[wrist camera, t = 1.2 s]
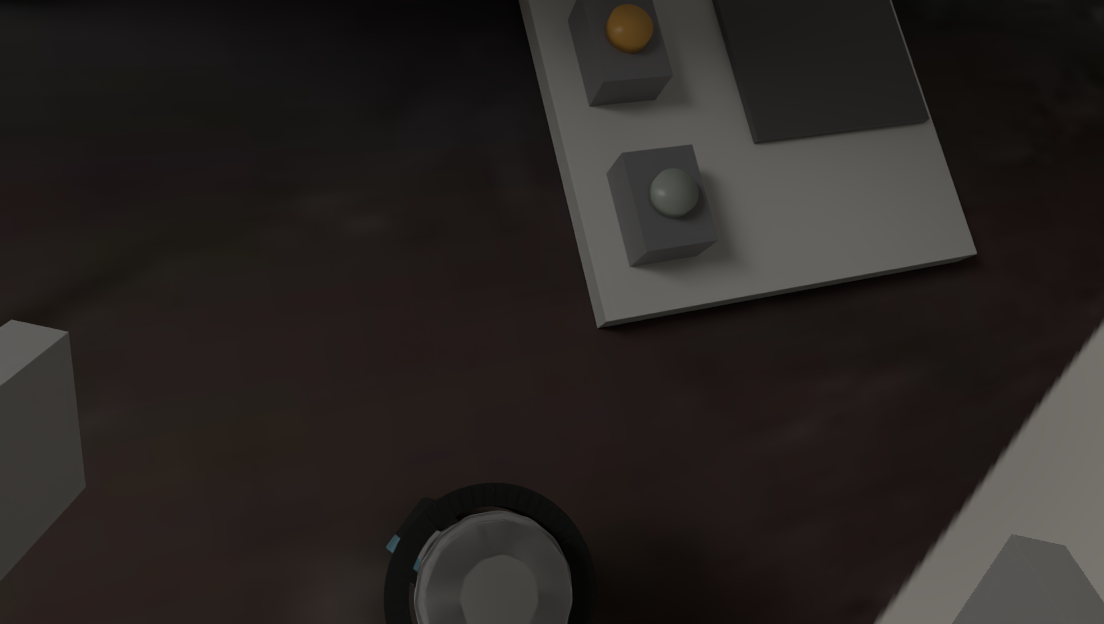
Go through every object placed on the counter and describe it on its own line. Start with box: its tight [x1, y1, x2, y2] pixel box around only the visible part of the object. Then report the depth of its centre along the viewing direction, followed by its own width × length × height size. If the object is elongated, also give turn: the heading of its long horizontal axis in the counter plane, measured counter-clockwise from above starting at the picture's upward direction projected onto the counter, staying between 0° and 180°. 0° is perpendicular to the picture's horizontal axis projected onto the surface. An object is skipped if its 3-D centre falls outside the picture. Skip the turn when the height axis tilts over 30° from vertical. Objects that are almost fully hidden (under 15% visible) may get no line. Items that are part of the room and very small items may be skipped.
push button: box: [384, 483, 596, 624], centre depth 23 cm, size 7×5×10 cm
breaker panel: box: [519, 0, 977, 328], centre depth 34 cm, size 22×18×4 cm
